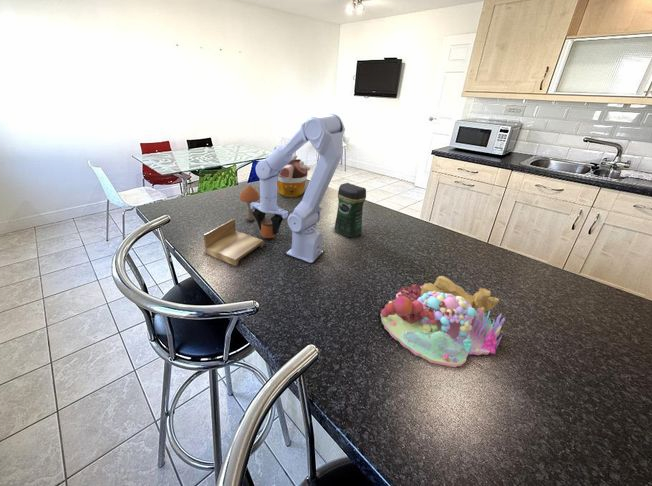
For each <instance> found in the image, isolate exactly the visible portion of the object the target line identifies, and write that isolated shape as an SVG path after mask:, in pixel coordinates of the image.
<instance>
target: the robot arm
mask: <svg viewBox="0 0 652 486" xmlns="http://www.w3.org/2000/svg"><path fill="white" fill-rule="evenodd" d="M345 131H346V127H345V125H344V122H343V121H342V118H341V117H340V116H338V114H336V113H329V114H326V115H319V116H317V115H316V116H314V115H313V116H310V117H309V118H307V120H306V121H304V122H303V123H302V124H301V125H300V128H299V129H298V130H297V131H296V132H295V133H294V134H293V135H292V137H291V138H290V139H289V140H288V142H287V143H286V144H285V145H276V146H275V147H273V151H272V152H271V153H270V154H269V155H268V154H267V155H266V156H265V159H264V160H263V161H262V160H261V161H258V162H257V163H256V165H255V173H256V175H257V177H258V178H259V196H260V199H259V202H257V201H255V202H252V203H251V204H250V208H251V209H253V215H254V219H255V221H256V223H257V227H258V228H259V231H261V219H263V218H266V214H272V217H271V220H272V224H273V234H274V235H276V236H277V234H278V233H279V231H280V227H281V225H282V222H283V221H284V219H287V225H288V227H289V229H290V231H291V248H290V249H289V250H288V251H286V252H285V254H286V255H288V256H290V257H294V258H295V259H299V260H301V261H304V262H307V263H310V264H312V263H314V261H316V259H318V258H319V256H321V254H323V240H324V239H323V238H324V236H323V233H321V232H320V231H319V230H317V229H316V227H317V224H318V223H319V222H320V220H321V211H322V209H323V207H322V206H321V203H322V201H323V199H324V196H325V194H326V192H327V190H328V187H329V185H330V183H331V181H332V179H333V177H334V175H335V172H336V170H337V169H338V166H339V164H340V162H341V160H342V157H343V151H344V150H343V148H344V147H343V144H344V143H343V137H344V133H345ZM308 142H309V143H310V144H311V146H312V147H313V148H314V149H315V150H316V152H317V153H318V155H319V157H318V160H317V162H316V165H315V168H314V170H313V172H312V175H311V177H310V180H309V182H308V184H307V187H306V189H305V192H304V195H303V196H302V199H301V201H300V202H299V203H298V204H297V205H296V206H295V208H293V211H292V212H291V213H290V214H289V211H288V210H285V209H283V208H281V207H280V206H278V186H277V181H278V176H279V174H280V173H281V169H282V168H283V167H285V166H286V165H287V164H288V163H289V162H290V161H291V160H292V156H293V154H294V153H296V152H298V150H300V149H301V148H302V147H303V146H304V145H306V144H307V143H308Z"/></svg>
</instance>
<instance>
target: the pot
mask: <svg viewBox="0 0 652 486" xmlns="http://www.w3.org/2000/svg"><path fill="white" fill-rule="evenodd" d="M260 235H261V237H262V238H264V239H273V238H276V237H277V234H276V235H274V234H273V224H272V220H271V217H270V216H269V217H268V216H267V217H265V218H263V219H261V230H260Z"/></svg>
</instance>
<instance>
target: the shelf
mask: <svg viewBox="0 0 652 486" xmlns="http://www.w3.org/2000/svg"><path fill="white" fill-rule="evenodd" d="M203 240H204V250H205V254H206V255H208V256H211V257H213V258H216V259H218V260H219V261H220V260H221V261H223V262H224V263H227V264H230V265H231V266H234V267H237V266H238V265H239V261H240V260H241V259H243V258H244V257H246V256H247V255H248V254H250V253H251V252H253V251H254V250H255V249H257V248H264V240H263V239H261V238H258V237H256V236H253V235H250V234H246V233H243V232H241V231H239V230H236V218H232V219H230V220H228V221H227V222H225V223H223V224H221V225H219V226H217V227H215V228H213V229H212V230H209V231H208V232H206V233H204V234H203Z"/></svg>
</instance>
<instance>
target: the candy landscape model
mask: <svg viewBox="0 0 652 486" xmlns="http://www.w3.org/2000/svg"><path fill="white" fill-rule="evenodd" d="M491 294H492V292H491V291H490V290H488V289H487V288H483V287H480V288H479V289H478V291H476V292H475V293H474V294H473V295H472V294H469V293H467V291H465V289H464V288H463V287H461V286H459V285H457V284H456V283H454V282H453V281H452V280H451V279H449V278H448V277H446V276H445V275H438V276H437V278H436V280H435V282H434V283H431V282H428V283H427V282H425V283H424V284H423V285H421V286H420V285H418V284H412V285H411V286H405V287H400V288H398V291H397V293H396V295H395V298H394V299H393V300H388V302H387V303H386V304H385V305H384V308H382V309H381V311H380V320H381V324H382V325H383V328H384V330H386V332H388V333H389V335H390V336H391V337H392V338H393V339H394V341H396V342H399V343H400V345H401V346H402V347H403V348H404V349H407V350H409V351H410V352H411V353H412V354H414V355H415V356H416V357H420V358H422V360H426V361H428V362H429V363H431V364H435V365H441V366H447V367H452V368H457V367H462V366H463V365H464V364H465V363H466V362H467V358H468V356H471V355H475V356H481V355H486V356H488V355H489V354H491V355H495V354H496V353H497V351H496V350H497V348H498V346H500V342H501V340H502V338H503V337H502V336H503V333H502V334H501V329H502V327H503V325H504V323H505V321H506V317H505V316H504V317H503V318H502V319H501V317H502V315H503V314H502V313H503V312H500V314H498V316H497V317H496V320H495V319H493V321H492V320H491V317H489V316H490V313H491V310H493V309H494V308H495V307H496V306H497V304H498V303H499V302H500V299H499V298H498V297H495V296H491ZM487 312H488V313H487ZM500 320H501V321H500ZM500 334H501V335H500Z"/></svg>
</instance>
